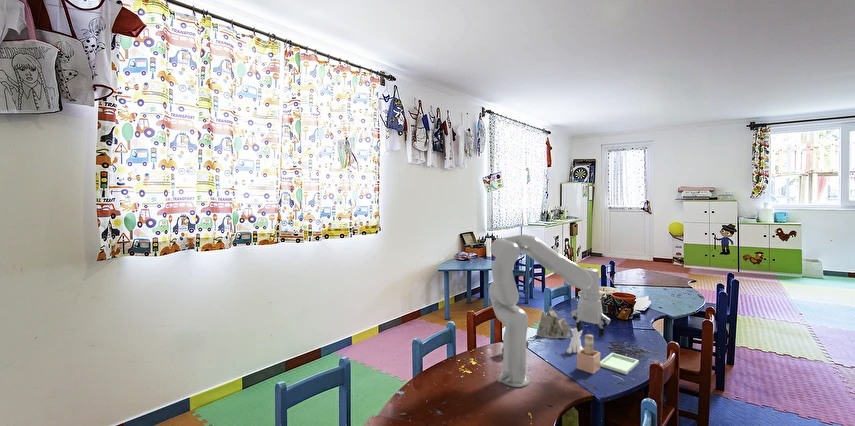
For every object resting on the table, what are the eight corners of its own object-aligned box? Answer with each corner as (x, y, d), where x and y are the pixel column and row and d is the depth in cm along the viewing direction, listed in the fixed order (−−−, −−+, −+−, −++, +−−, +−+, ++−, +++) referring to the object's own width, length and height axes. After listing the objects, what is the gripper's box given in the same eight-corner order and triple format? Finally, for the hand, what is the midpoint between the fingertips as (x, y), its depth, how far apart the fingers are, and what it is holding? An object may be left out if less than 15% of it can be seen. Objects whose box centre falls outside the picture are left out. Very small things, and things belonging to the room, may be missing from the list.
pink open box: (593, 375, 167) (593, 357, 166) (576, 369, 172) (577, 352, 172) (600, 369, 172) (600, 352, 172) (584, 364, 177) (584, 347, 177)
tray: (626, 375, 166) (626, 371, 166) (598, 367, 175) (598, 362, 175) (638, 364, 177) (638, 360, 177) (611, 356, 186) (612, 352, 186)
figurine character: (518, 349, 198) (498, 353, 189) (519, 335, 198) (499, 338, 189) (528, 354, 193) (508, 358, 184) (529, 339, 193) (509, 342, 184)
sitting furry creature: (566, 354, 189) (566, 330, 188) (564, 347, 197) (564, 324, 196) (587, 356, 186) (587, 332, 186) (584, 349, 195) (584, 326, 194)
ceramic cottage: (532, 332, 218) (534, 307, 217) (552, 328, 226) (555, 304, 225) (552, 343, 204) (555, 316, 203) (574, 339, 212) (576, 313, 211)
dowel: (590, 371, 169) (591, 338, 169) (582, 368, 172) (583, 335, 171) (594, 368, 172) (594, 335, 171) (586, 366, 175) (586, 333, 174)
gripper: (567, 294, 174) (567, 331, 175) (606, 301, 162) (606, 341, 162) (575, 291, 179) (575, 326, 180) (613, 297, 167) (613, 336, 168)
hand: (590, 333), depth 171 cm, fingers open, 9 cm apart
